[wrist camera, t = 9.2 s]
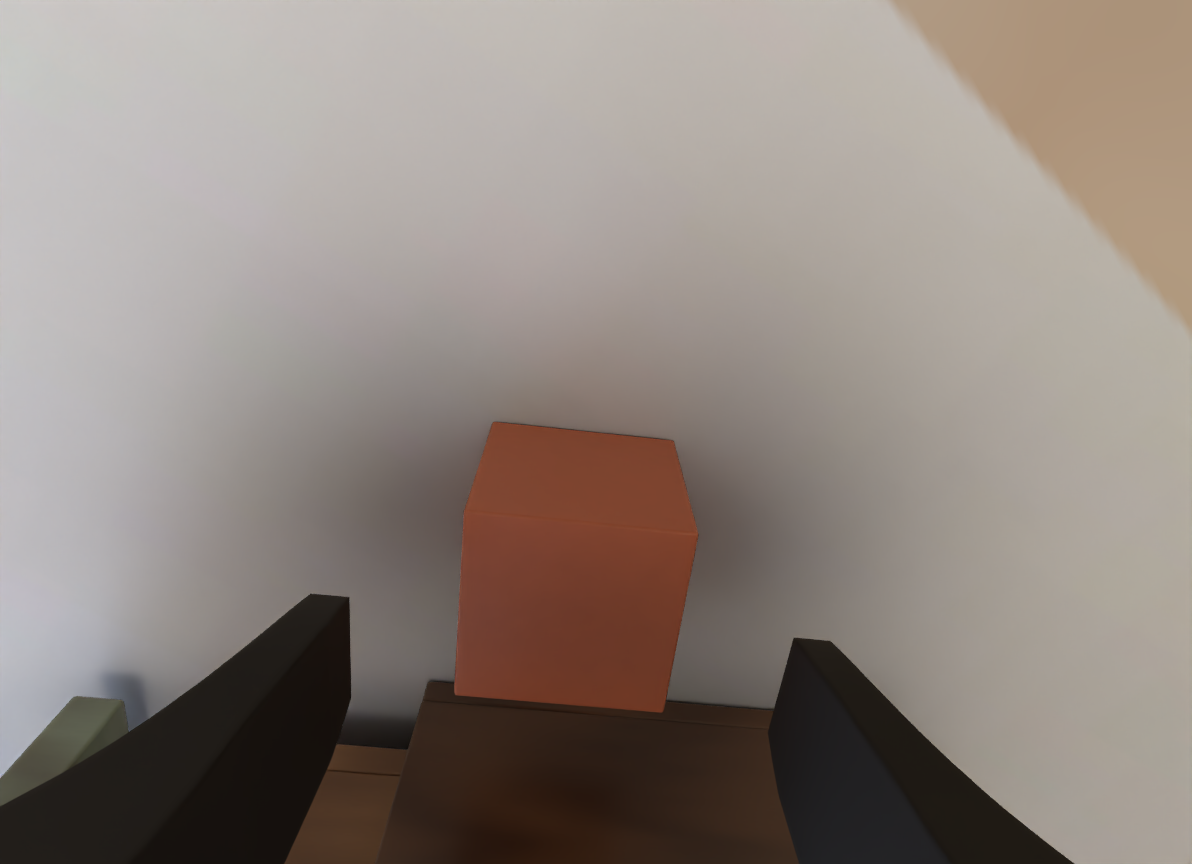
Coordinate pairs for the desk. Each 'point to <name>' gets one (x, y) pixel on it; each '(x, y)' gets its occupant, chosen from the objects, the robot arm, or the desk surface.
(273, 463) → the desk surface
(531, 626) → the block
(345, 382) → the desk surface
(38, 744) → the drawer
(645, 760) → the cabinet
